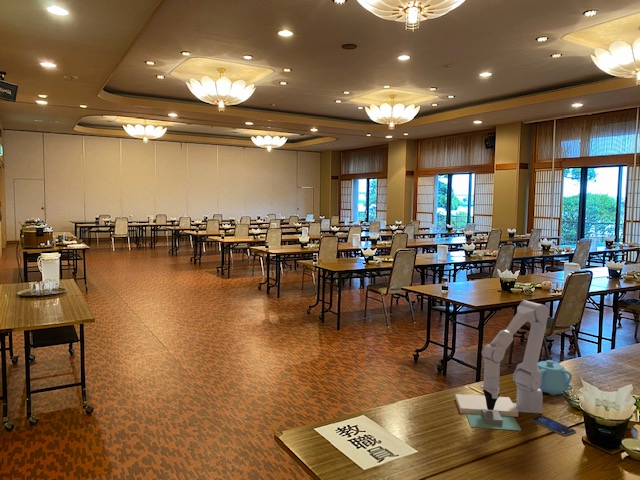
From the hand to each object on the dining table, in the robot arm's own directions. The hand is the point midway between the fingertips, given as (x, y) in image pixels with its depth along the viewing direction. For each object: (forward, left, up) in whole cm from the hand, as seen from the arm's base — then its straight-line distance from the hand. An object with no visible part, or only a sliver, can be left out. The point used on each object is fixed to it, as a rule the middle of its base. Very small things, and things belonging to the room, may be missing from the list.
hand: (490, 409), depth 190 cm
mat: (0, +5, -3) cm, 6 cm away
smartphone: (-22, +4, -4) cm, 23 cm away
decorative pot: (-32, -32, -3) cm, 45 cm away
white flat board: (0, -9, -3) cm, 9 cm away
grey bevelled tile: (0, +3, -3) cm, 4 cm away
